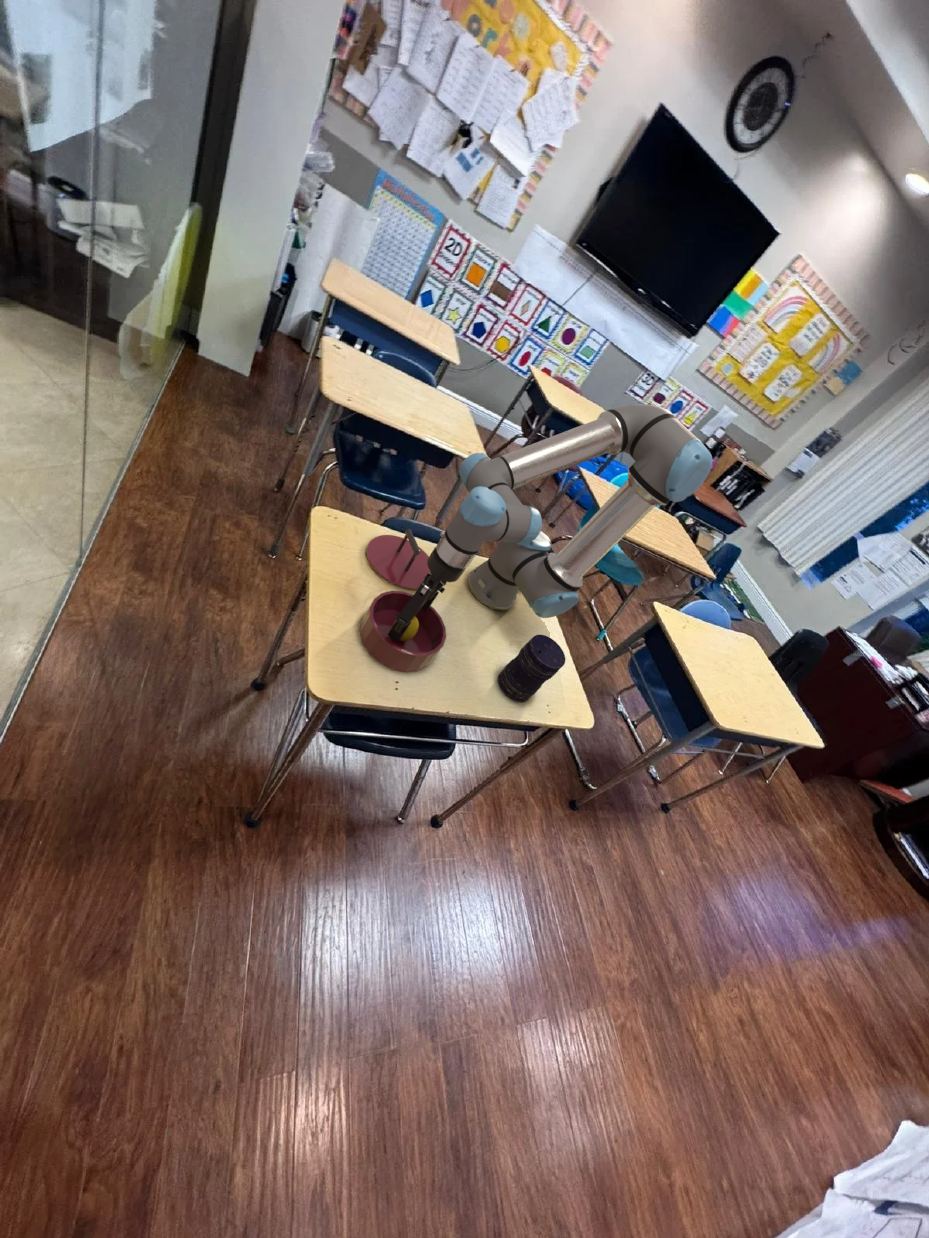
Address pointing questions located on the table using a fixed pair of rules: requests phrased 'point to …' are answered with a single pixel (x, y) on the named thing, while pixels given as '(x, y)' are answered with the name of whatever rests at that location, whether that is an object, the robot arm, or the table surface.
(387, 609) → the pot
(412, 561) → the lid
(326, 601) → the table surface
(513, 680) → the storage jar
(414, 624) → the lemon
